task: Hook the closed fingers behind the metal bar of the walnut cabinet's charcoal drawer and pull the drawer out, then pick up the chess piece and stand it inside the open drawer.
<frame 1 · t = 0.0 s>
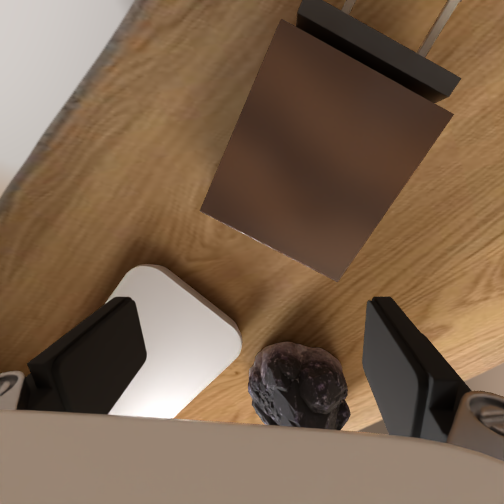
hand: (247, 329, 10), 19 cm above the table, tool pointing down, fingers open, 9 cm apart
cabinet: (305, 167, 26), on the table
white flat rounded slab: (150, 352, 36), on the table
crystal cluster: (297, 375, 34), on the table
drawer: (345, 100, 20), point 4 cm above the table, slide at 1.0 cm
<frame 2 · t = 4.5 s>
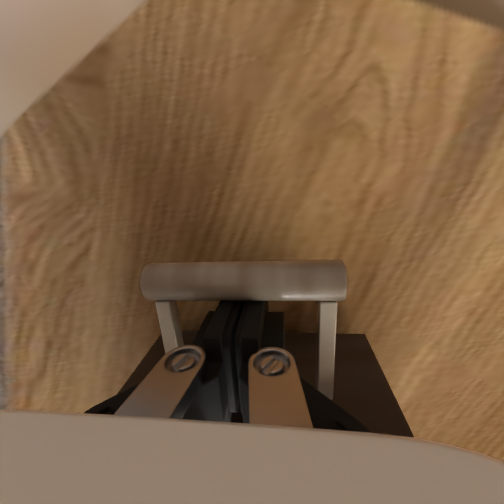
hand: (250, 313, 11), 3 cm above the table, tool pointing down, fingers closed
drawer: (257, 424, 13), point 4 cm above the table, slide at 2.4 cm, touching gripper
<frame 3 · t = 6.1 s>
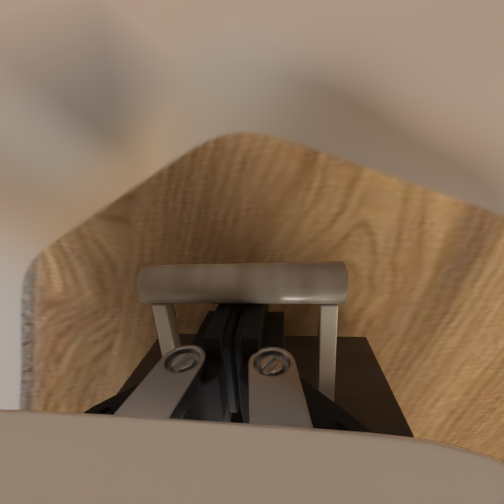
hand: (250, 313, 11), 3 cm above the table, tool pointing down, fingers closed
drawer: (256, 430, 13), point 4 cm above the table, slide at 9.0 cm
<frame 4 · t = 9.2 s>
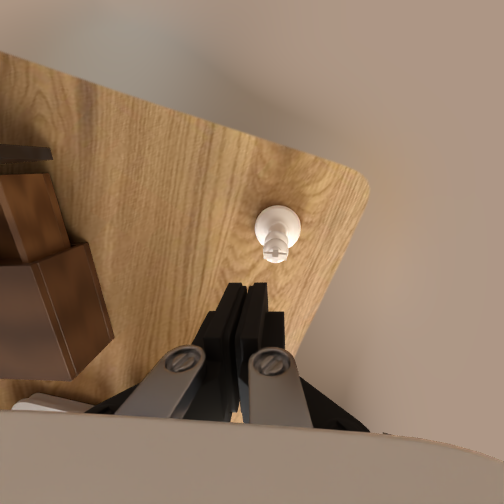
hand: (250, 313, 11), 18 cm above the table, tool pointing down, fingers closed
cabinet: (58, 293, 34), on the table
white flat rounded slab: (78, 452, 44), on the table
chess piece: (277, 227, 28), on the table
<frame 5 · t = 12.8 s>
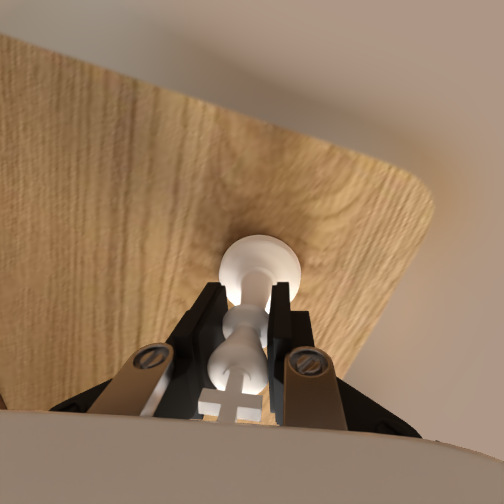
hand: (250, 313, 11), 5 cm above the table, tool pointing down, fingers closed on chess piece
chess piece: (260, 272, 16), on the table, touching gripper
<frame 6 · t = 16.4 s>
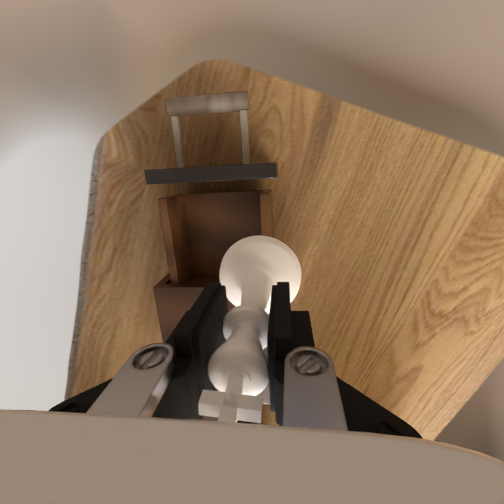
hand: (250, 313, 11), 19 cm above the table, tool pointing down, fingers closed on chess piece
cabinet: (236, 310, 33), on the table
drawer: (219, 203, 25), point 4 cm above the table, slide at 9.5 cm
chess piece: (260, 273, 16), point 14 cm above the table, touching gripper
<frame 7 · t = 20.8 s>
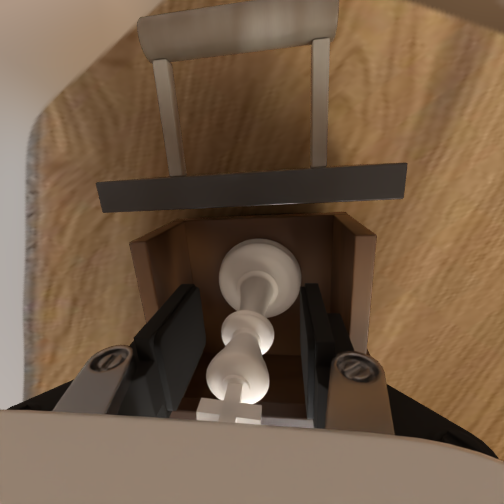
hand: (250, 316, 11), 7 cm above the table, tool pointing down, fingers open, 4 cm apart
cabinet: (269, 394, 21), on the table
drawer: (253, 242, 13), point 4 cm above the table, slide at 9.3 cm, touching chess piece
chess piece: (260, 276, 16), point 2 cm above the table, touching drawer
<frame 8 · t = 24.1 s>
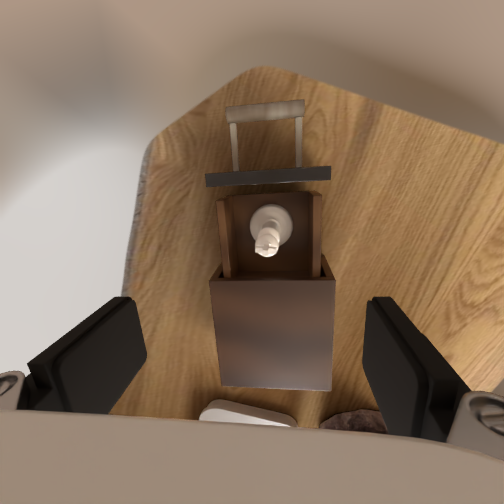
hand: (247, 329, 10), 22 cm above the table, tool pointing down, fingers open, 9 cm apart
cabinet: (275, 303, 35), on the table
white flat rounded slab: (242, 457, 45), on the table
crystal cluster: (357, 433, 40), on the table
drawer: (269, 203, 27), point 4 cm above the table, slide at 9.3 cm, touching chess piece
chess piece: (271, 225, 30), point 2 cm above the table, touching drawer
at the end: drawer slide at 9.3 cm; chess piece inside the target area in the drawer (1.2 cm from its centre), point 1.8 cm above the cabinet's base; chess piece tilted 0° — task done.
